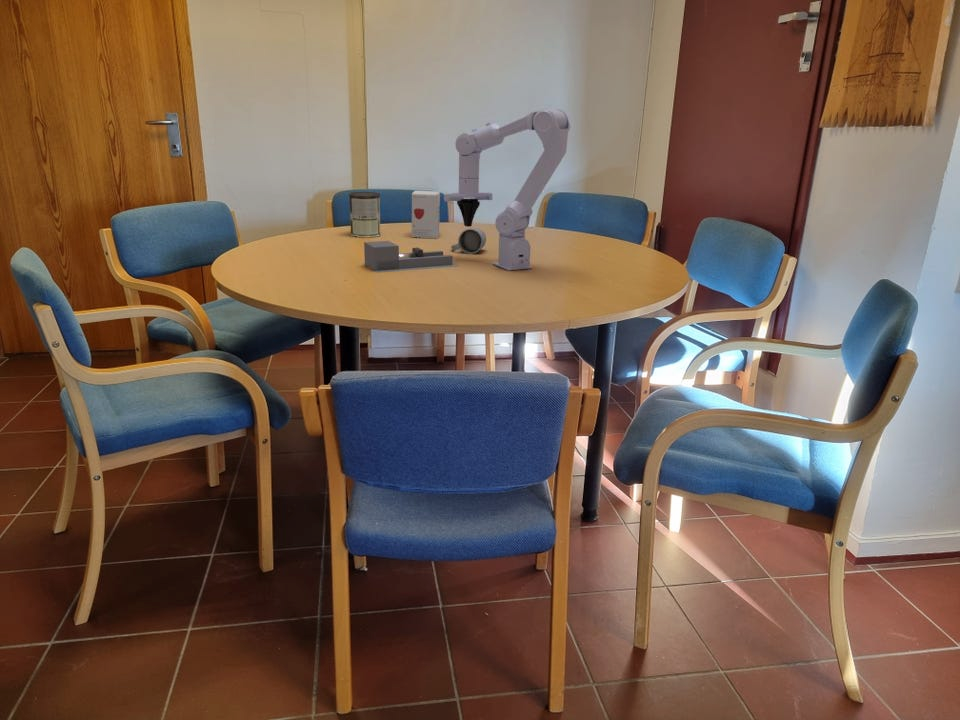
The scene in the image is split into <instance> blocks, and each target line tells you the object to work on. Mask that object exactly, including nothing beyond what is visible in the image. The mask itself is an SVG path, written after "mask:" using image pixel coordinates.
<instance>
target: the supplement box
mask: <svg viewBox="0 0 960 720" xmlns="http://www.w3.org/2000/svg"><path fill="white" fill-rule="evenodd" d="M440 201H441V191H434V190H431V191H430V190H414V191H413V192H412V193H411V238H412V237H417V238H418V239H434V238H437V239H438V238H439V235H440V214H441V213H440V210H441V209H440V203H441V202H440ZM419 237H420V238H419Z"/></svg>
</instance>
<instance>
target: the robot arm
mask: <svg viewBox="0 0 960 720" xmlns="http://www.w3.org/2000/svg"><path fill="white" fill-rule="evenodd" d="M527 130H529V131H535V132H536V135H537V136H538V138H539V140H540V141H541V144H542V147H543V152H542V154H541V155H540V157H539V158H538V160H537V162H536V163H535V165H534V167H533V169H532V170H531V171H530V173H529V174H528V177H527V178H526V180H525V182H524V183H523V185H522V187H521V189H520V190H519V192H518V194H517V195H516V197H515V199H514V200H513V201H511V202H510V203H509V204H508V205H507V206H506V208H505V209H504V210H503V211H502V212H500V213H499V214H498V215H497V216H496V218H495V222H494V223H495V228H496V230H497V232H498V233H499V234H498V235H499V236H498V237H499V238H498V260H497V261H492V265H494V266H497V267H500V268H501V269H503V270H506V271H517V270H518V271H519V270H528V269H533V266H532V265H530V264H531V263H530V262H531V245H530V242H529V241H528V240H527V239H526V229H527V228H528V227H529V225H530V219H531V216H532V214H533V207H534V205H535V204H536V202H537V200H538V199H539V197H540V196H541V194H542V192H543V190H544V189H545V188H546V185H547V184H548V183H549V181H550V179H551V178H552V176H553V174H554V173H555V171H556V170H557V168H558V166H559V165H560V163H561V162H562V160H563V158H564V157H565V155H566V154H567V148H568V136H569V131H570V130H571V123H570V120H569V117H568V115H567V113H566V112H565V111H564V110H563V109H548V108H541V109H539V110H535V111H531V112H528V113H526V114H523V115H521V116H519V117H517V118H515V119H511V120H510V121H508V122H505V123H504V124H501V125H500V124H498V123H496V122H494V123H493V122H491V121H490V122H487V123H485V126H483V127H481V128H478V129H477V128H473V129H472V130H471V132H470V133H468V132H463V133H461V134H459V135H458V136H457V138H456V140H455V143H454V144H455V149H456V152H457V153H459V154H458V192H456V193H455V192H454V193H452V192H451V193H444V194H443V201H444V202H456V204H457V206H458V208H459V211H460V213H461V217H462V220H463V225H464V226H465V227H466V228H468V227H469V228H471V227H472V225H473V221H474V218H475V214H476V213H477V211H478V208H479V207H480V205H481V202H480V201H493V193H492V192H479V189H480V187H479V185H480V157H481V153H482V152H483V151H485V150H488V149H491V148H493V147H496V146H499V145H501V144H502V143H504V140H505V138H506V137H508V136H513V135H515V134H517V133H521V132H523V131H527Z"/></svg>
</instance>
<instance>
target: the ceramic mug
mask: <svg viewBox="0 0 960 720" xmlns="http://www.w3.org/2000/svg"><path fill="white" fill-rule="evenodd" d="M486 243H487V236H486V233H485V232H484V231H483V230H482V229H481V228H479V227H474V226H473V227H469V228H466V229H464V230H463V231H462V232H460V234H459V236H458V240H457V243H455V244H453V245H451V246H450V247H451V250H452V251H456V250H459V249H460V250H461V251H462V252H463V253H465V254H467V253H469V254H468V255H473V254H477V253H478V252H479V251H480V250H481V249H483V248H484V247H485V245H486Z"/></svg>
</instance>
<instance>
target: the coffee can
mask: <svg viewBox="0 0 960 720" xmlns="http://www.w3.org/2000/svg"><path fill="white" fill-rule="evenodd" d="M380 196H381V194H380V192H375V191H356V192H349V193H348V197H349V216H350V220H349V221H350V223H349V224H350V236H351V235H352V236H351V237H353V236H357V237H356V238H359V237H372V238H377V236H378V237H381V212H380V211H381V208H380V206H381V203H380V201H381V200H380V199H381V198H380Z"/></svg>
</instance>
